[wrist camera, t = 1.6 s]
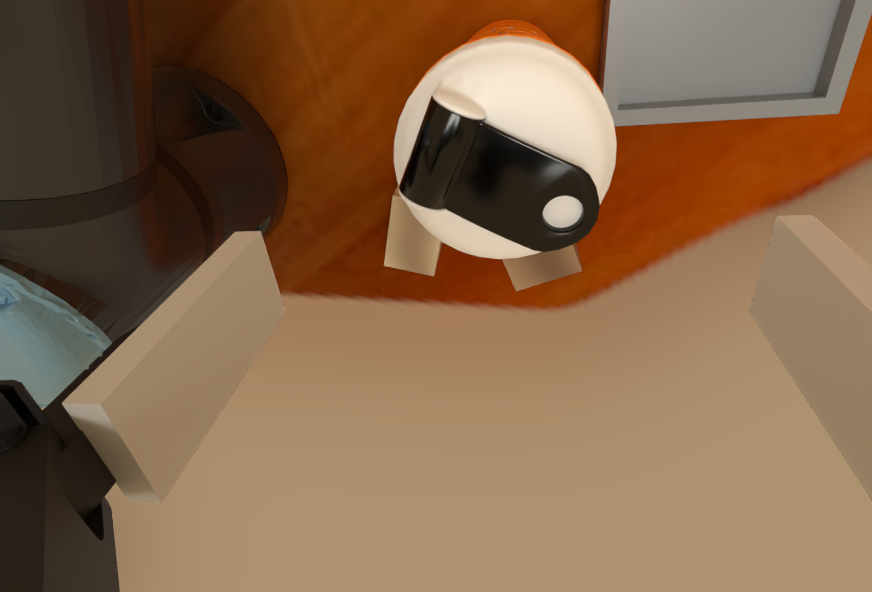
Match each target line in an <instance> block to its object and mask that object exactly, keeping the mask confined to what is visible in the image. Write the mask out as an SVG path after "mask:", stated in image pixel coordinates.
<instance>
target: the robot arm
mask: <svg viewBox="0 0 872 592" xmlns="http://www.w3.org/2000/svg"><path fill="white" fill-rule="evenodd" d="M286 196H287V176H286V170H285V165H284V161H283V158H282V155H281V152H280V149H279V147H278V145H277V142H276V140H275V138H274V136H273V135H272V133H271V131H270V130H269V128H268V126H267V125H266V123H265V122H264V121H263V119H262V118H261V117H260V115H259V114H258V113H257V112H256V111H255V110H254V108H253V107H252V106H251V105H250V104H249V103H248V102H247V101H246V100H245V99H243V98H242V97H241V96H240V95H239V94H238V93H236V92H235V91H234V90H232V89H231V88H229V87H228V86H227V85H225V84H223V83H222V82H220V81H218V80H216V79H215V78H213V77H210V76H208V75H206V74H204V73H201V72H198V71H195V70H192V69H188V68H183V67H176V66H158V67H152V66H151V50H150V28H149V4H148V0H0V592H120V591H119V581H118V570H117V560H116V550H115V540H114V531H113V520H112V510H111V507H110V505H109V503H108V501H107V500H106V498H105V495H106V494H107V493H108V491H109V490H110V489H111V487H112V486H113V485H114V484H115V482H116V483H117V485H118V486H119V488H120V489H121V491H122V492H123V493H124V495H125V497H126V498H127V499H128V501H139V502H154V503H163V501H164V500H165V498H166V497H167V495H168V494H169V492H170V491H171V489H172V487H173V486H174V484H175V483H176V481H177V480H178V478H179V477H180V475H181V473H182V472H183V470H184V469H185V467H186V466H187V464H188V463H189V461H190V459H191V458H192V456H193V454H194V453H195V452H196V450H197V449H198V447H199V446H200V444H201V442H202V441H203V439H204V438H205V436H206V435H207V433H208V432H209V430H210V429H211V427H212V426H213V424H214V422H215V421H216V419H217V418H218V416H219V415H220V413H221V412H222V410H223V408H224V407H225V405H226V404H227V402H228V401H229V399H230V398H231V396H232V394H233V393H234V391H235V390H236V388H237V387H238V385H239V383H240V382H241V381H242V379H243V378H244V376H245V374H246V373H247V371H248V369H249V368H250V367H251V365H252V363H253V362H254V360H255V359H256V357H257V356H258V354H259V353H260V351H261V350H262V348H263V347H264V345H265V343H266V342H267V340H268V338H269V337H270V335H271V334H272V333H273V331H274V329H275V328H276V326H277V325H278V323H279V322H280V320H281V319H282V317H283V316H284V314H285V312H286V311H285V308H284V304H283V301H282V298H281V295H280V292H279V288H278V285H277V282H276V279H275V275H274V272H273V269H272V266H271V263H270V259H269V256H268V253H267V250H266V247H265V243H264V240H263V239H264V238H265V237H266V236H267V235H268V233H269V232H270V231H271V230H272V229H273V228H274V226H275V225H276V224H277V222H278V220H279V219H280V217H281V214H282V212H283V209H284V206H285V202H286ZM749 312H750V314H751V315H752V317H753V318H754V320H755V321H756V323H757V325H758V326H759V328H760V329H761V331H762V332H763V334H764V335H765V337H766V338H767V340H768V341H769V343H770V344H771V346H772V348H773V349H774V351H775V352H776V354H777V355H778V357H779V358H780V360H781V361H782V363H783V365H784V366H785V368H786V369H787V371H788V372H789V374H790V375H791V377H792V378H793V380H794V382H795V383H796V385H797V386H798V388H799V389H800V390H801V392H802V394H803V395H804V397H805V399H806V400H807V402H808V403H809V405H810V406H811V408H812V409H813V411H814V412H815V414H816V415H817V417H818V419H819V420H820V422H821V423H822V425H823V426H824V428H825V429H826V431H827V432H828V434H829V436H830V437H831V439H832V440H833V442H834V443H835V445H836V446H837V448H838V449H839V451H840V452H841V454H842V456H843V457H844V459H845V460H846V462H847V463H848V465H849V466H850V468H851V469H852V471H853V472H854V474H855V476H856V477H857V479H858V480H859V482H860V483H861V485H862V486H863V488H864V489H865V491H866V493H867V494H868V496H869V497H870V499H871V500H872V267H871V266H869V265H868V264H867V263H866V262H865V261H864V260H863V259H862V258H860V257H859V256H858V255H857V254H856V253H855V252H854V251H853V250H851V249H850V248H849V247H848V246H847V245H846V244H845V243H843V242H842V241H841V240H840V239H839V238H838V237H837V236H835V235H834V234H833V233H832V232H831V231H830V230H829V229H828V228H827V227H825V226H824V225H823V224H822V223H821V222H820V221H819V220H817V219H816V218H815V217H814V216H813V215H798V216H777V217H776V220H775V224H774V227H773V231H772V234H771V237H770V241H769V244H768V248H767V251H766V254H765V258H764V261H763V265H762V268H761V271H760V275H759V278H758V282H757V285H756V289H755V292H754V296H753V299H752V302H751V306H750V309H749ZM42 407H46V408H44V409H43V410H41V408H42Z"/></svg>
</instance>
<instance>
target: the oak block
mask: <svg viewBox="0 0 872 592" xmlns="http://www.w3.org/2000/svg"><path fill="white" fill-rule="evenodd" d="M398 189H399V185H398V186H397V188H396V190H395V192H394V194H393V197H392V205H391V213H390V221H389V229H388V236H387V244H386V252H385V260H384V266H388V267H392V268H397V269H401V270H406V271H411V272H415V273H420V274H425V275H429V276H434V274H435V270H436V266H437V262H438V258H439V254H440V250H441V245H442V241H440V240H439V239H438V238H436V237H435V236H434V235H432V234H431V233H430V232H428V231H427V230H426V229H425V227H424V226H423V225H422V224H421V223H420V222H419V221H418V220H417V219H416V218H415V216H414V215H413V213H412V212H411V210H410V208H409V207H408V205H407V204H406V202H405V201H404V200H403V199H402V198H401V196H400V194H399V191H398Z"/></svg>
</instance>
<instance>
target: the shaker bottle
mask: <svg viewBox="0 0 872 592" xmlns="http://www.w3.org/2000/svg"><path fill="white" fill-rule="evenodd" d="M616 146H617V141H616V134H615V128H614V121H613V118H612V115H611V113H610V110H609V107H608V105H607V102H606V100H605V98H604V96H603V94H602V92H601V89H600V87H599V86H598V84H597V83H596V81H595V80H594V78H593V77H592V75H591V74H590V72H589V71H588V70H587V69H586V68H585V67H584V66H583V65H582V64H581V63H580V62H579V61H578V60H577V59H576V58H575V57H574V56H573V55H571V54H570V53H568V52H566V51H565V50H563V49H561V48H560V47H558V46H556V45H555V43H554V42H553V41H552V40H551V39H550V38H549V37H548V36H547V35H546V34H545V33H544V32H543V31H542V30H541V29H540V28H538V27H536V26H535V25H533V24H531V23H528V22H525V21H522V20H515V19H507V20H499V21H496V22H493V23H491V24H488V25H486V26H485V27H483V28H482V29H480V30H479V31H477V32H476V33H475V34H474V35H473V36H472V37H471V38H470V39H469V40H468V41H467V42H466V43H465V44H462V45H461V46H459V47H457V48H456V49H454V50H452V51H451V52H449V53H447V54H446V55H444V56H443V57H442V58H441V59H439V60H438V61H437V62H436V63H435V64H434V65H433V66H432V67H431V68H430V69H429V70H428V71H427V72H426V73H425V74H424V76H423V77H422V79H421V80H420V81H419V83H418V84H417V86H416V87H415V88H414V90H413V92H412V94H411V96H410V97H409V98H408V100H407V102H406V105H405V107H404V109H403V111H402V114H401V116H400V118H399V121H398V126H397V130H396V135H395V139H394V166H395V172H396V178H397V182H398V185H399V189H398V191H399V194H400V196H401V198H402V199H403V200H404V201H405V202H406V204H407V205H408V207H409V208H410V210H411V212H412V213H413V215H414V216H415V218H416V219H417V220H418V221H419V222H420V223H421V224H422V225H423V226H424V227H425V229H426V230H427V231H428V232H430V233H431V234H432V235H434V236H435V237H436V238H438V239H439V240H440V241H442V242H443V243H445V244H447V245H449V246H451V247H453V248H455V249H457V250H459V251H461V252H465V253H468V254H471V255H475V256H478V257H485V258H493V259H508V258H520V257H524V256H529V255H533V254H537V253H539V252H549V251H555V250H560V249H562V248H565V247H568V246H571V245H573V244H575V243H577V242H578V241H580V240H581V239H582V238H584V237H585V236H586V235H587V234H589V232H590V231H591V229H592V228H593V226H594V225H595V223H596V221H597V218H598V213H599V208H600V204H601V202H602V200H603V198H604V196H605V194H606V192H607V190H608V188H609V186H610V182H611V179H612V175H613V171H614V168H615V161H616Z"/></svg>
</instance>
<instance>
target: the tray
mask: <svg viewBox="0 0 872 592" xmlns="http://www.w3.org/2000/svg"><path fill="white" fill-rule="evenodd" d="M871 13H872V0H604V8H603V22H602V35H601V48H600V62H599V75H598V86H599V87H600V89H601V92H602V94H603V96H604V98H605V100H606V102H607V105H608V107H609V110H610V113H611V115H612V118H613V121H614V126H630V125H648V124H666V123H683V122H701V121H718V120H736V119H753V118H771V117H788V116H806V115H823V114H839V111H840V108H841V105H842V102H843V99H844V96H845V93H846V90H847V87H848V83H849V80H850V77H851V74H852V71H853V68H854V65H855V62H856V59H857V56H858V53H859V50H860V47H861V44H862V41H863V38H864V35H865V32H866V29H867V25H868V22H869V19H870V16H871Z"/></svg>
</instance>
